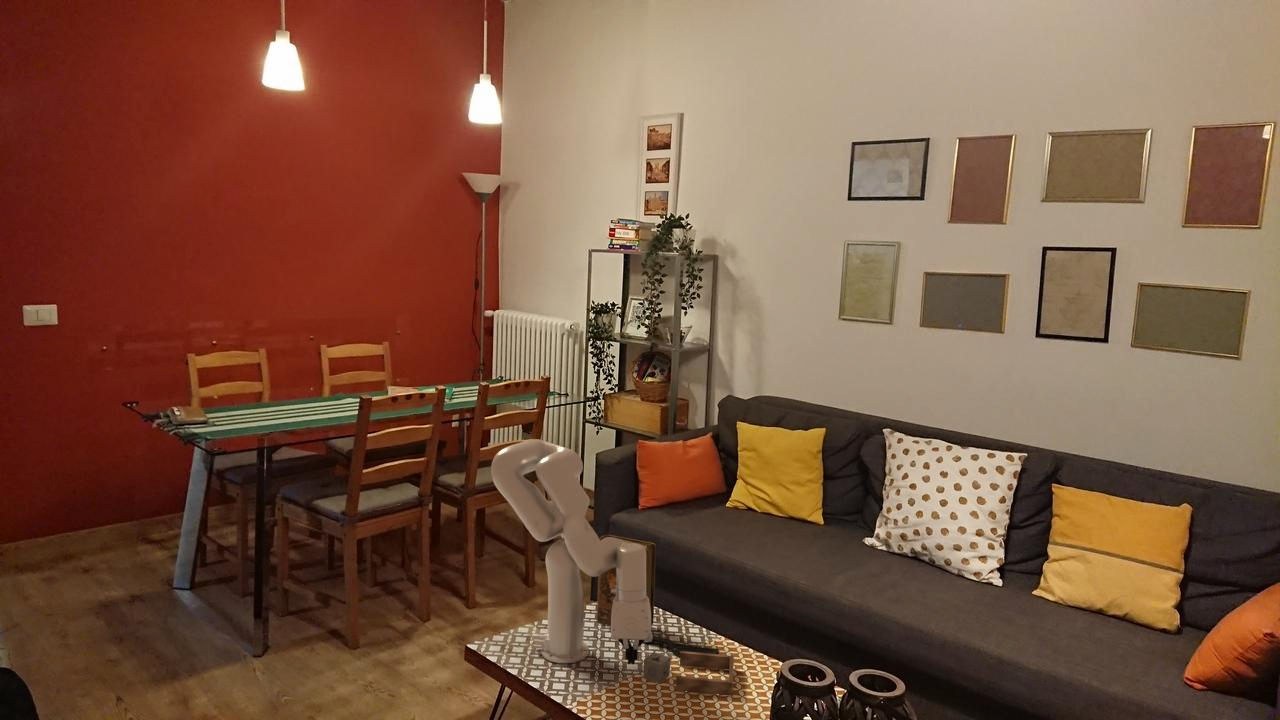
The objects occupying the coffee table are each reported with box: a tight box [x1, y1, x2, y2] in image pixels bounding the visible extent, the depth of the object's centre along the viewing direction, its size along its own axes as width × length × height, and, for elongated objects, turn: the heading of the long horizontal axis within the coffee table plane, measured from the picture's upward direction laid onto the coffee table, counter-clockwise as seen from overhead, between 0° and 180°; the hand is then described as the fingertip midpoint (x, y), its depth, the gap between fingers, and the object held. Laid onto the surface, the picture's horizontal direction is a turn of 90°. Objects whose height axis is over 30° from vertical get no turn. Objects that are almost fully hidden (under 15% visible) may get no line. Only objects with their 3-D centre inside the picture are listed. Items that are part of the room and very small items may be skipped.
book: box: [596, 534, 657, 627], centre depth 240 cm, size 16×6×25 cm, turn 66°
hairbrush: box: [649, 634, 720, 659], centre depth 227 cm, size 8×4×25 cm
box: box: [675, 651, 735, 697], centre depth 211 cm, size 14×14×4 cm
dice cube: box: [642, 651, 671, 685], centre depth 212 cm, size 5×5×5 cm
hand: (631, 661), depth 213 cm, fingers closed
